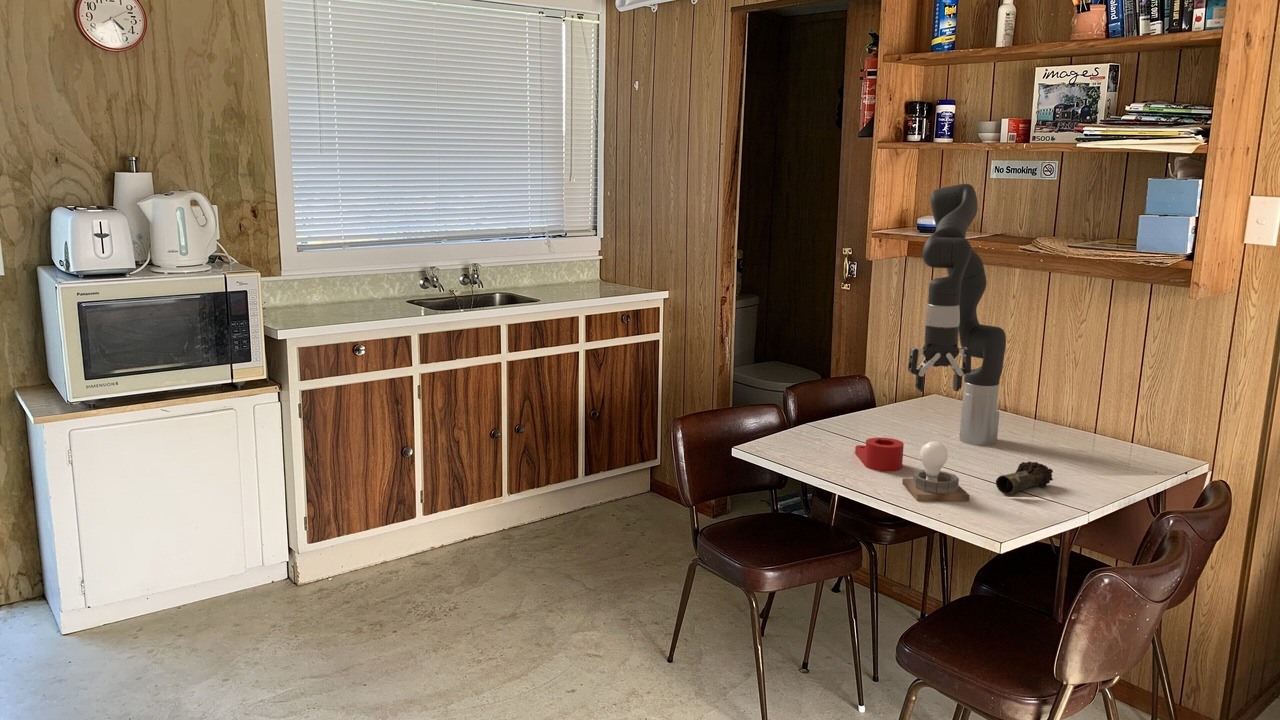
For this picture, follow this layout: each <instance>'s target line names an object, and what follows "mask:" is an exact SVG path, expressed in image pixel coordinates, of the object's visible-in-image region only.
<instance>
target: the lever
mask: <svg viewBox="0 0 1280 720" xmlns="http://www.w3.org/2000/svg"><path fill="white" fill-rule="evenodd" d="M904 444H905V443H904V442H903V441H901V440H899V439H895V438H889V437H871V438H867V439H866V440H865V445H862V444H861V445H860V444H859V445H855V448H854V449H855V450H854V454H855V455H856V457H857V458H858V459H859V461H860V462H861V463H862V465H863V466H864V467H865V468H867V469H869V470H871V471H878V472H890V473H891V472H897V471H900V470H902V469H903V461H904V460H903V459H904V446H905V445H904Z"/></svg>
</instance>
